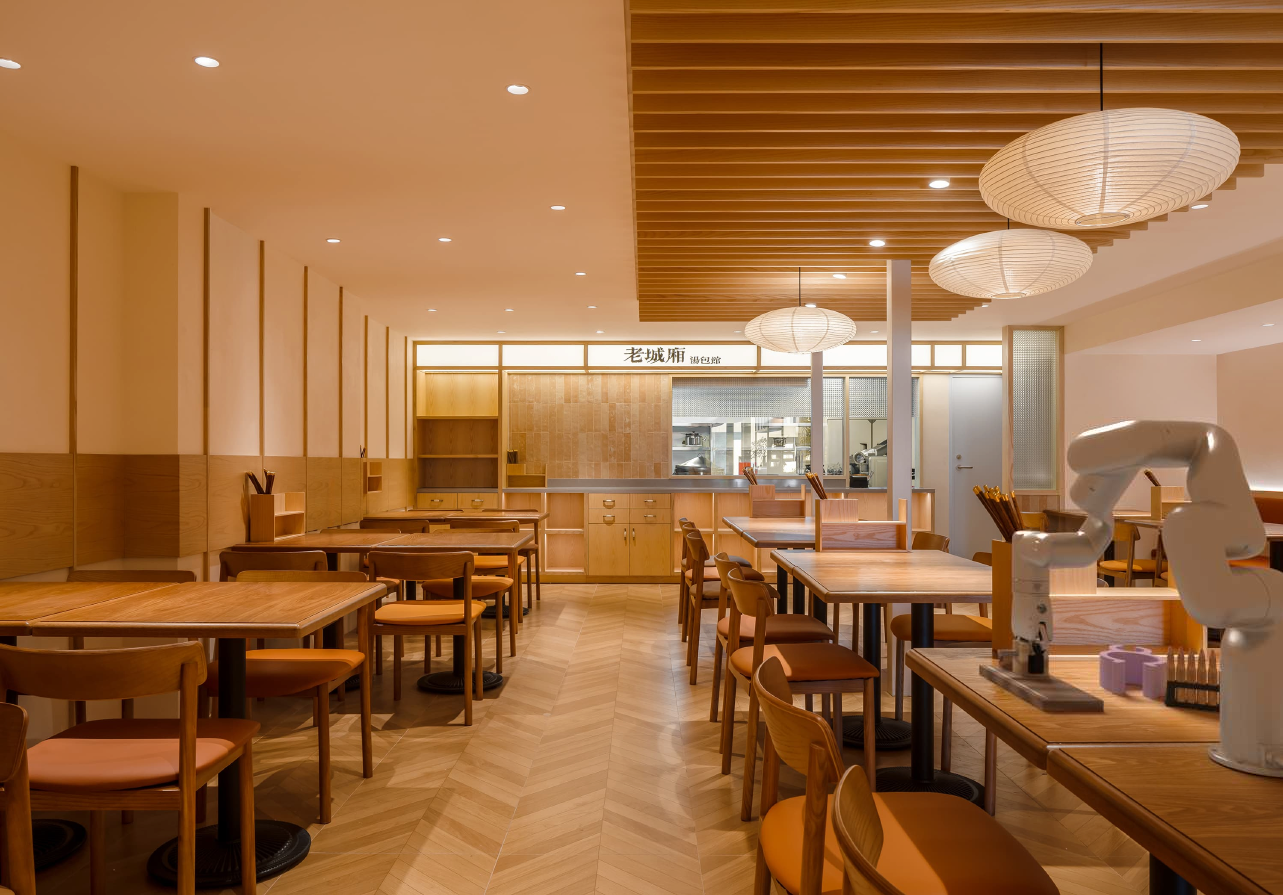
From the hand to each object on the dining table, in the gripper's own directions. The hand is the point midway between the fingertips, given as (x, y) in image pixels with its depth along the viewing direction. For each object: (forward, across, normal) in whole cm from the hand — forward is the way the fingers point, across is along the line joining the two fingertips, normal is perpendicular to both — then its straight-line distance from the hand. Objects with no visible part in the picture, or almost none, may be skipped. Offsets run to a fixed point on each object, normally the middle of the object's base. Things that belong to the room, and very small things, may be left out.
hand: (1030, 669), depth 180 cm
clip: (+3, -2, -22) cm, 22 cm away
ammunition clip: (+3, -18, -24) cm, 30 cm away
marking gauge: (+1, 0, +2) cm, 2 cm away
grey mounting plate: (+3, -6, +2) cm, 7 cm away
